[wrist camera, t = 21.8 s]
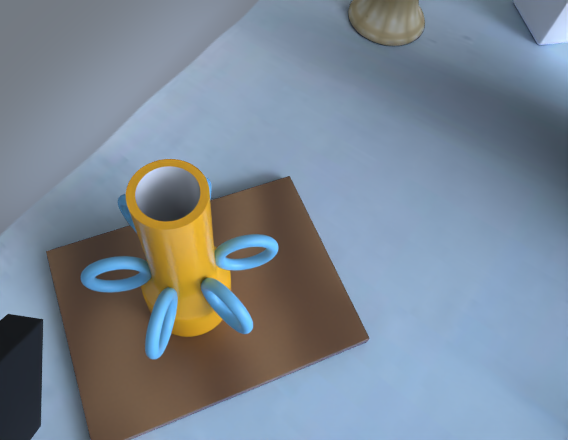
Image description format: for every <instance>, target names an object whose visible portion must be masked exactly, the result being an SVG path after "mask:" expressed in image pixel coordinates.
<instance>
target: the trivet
mask: <svg viewBox="0 0 568 440" xmlns="http://www.w3.org/2000/svg"><path fill="white" fill-rule="evenodd" d="M210 203H211V216H212V228H213V240H214V246H215V247H216V248H217V247H218V246H220V245H221V244H222V243H224V242H226V241H228V240H230V239H233V238H236V237H239V236H244V235H251V234H261V235H267V236H270V237H272V238H273V239H275V240H276V242H277V243H278V252H277V254H276V255H275V257H274V258H273V259H271V260H270V261H268V262H267V263H265V264H263V265H260V266H258V267H255V268H251V269H246V270H236V271H233V270H230V273H231V292H232V293H233V294H234V295H235V296H236V297H237V298H238V299H239V300H240V301H241V303H242V304H243V305H244V307H245V308H246V309H247V311H248V312H249V314H250V316H251V318H252V321H253V329H252V331H251V332H250V333H248V334H242V333H239V332H237V331H236V330H234V329H233V328H232V327H230V326H229V325H228V324H227V323H226V322H225V321H224V320H222V321H221V322H220V324H219V325H217V326H216V327H215V328H214V329H212V330H211V331H209V332H207V333H204V334H202V335H198V336H193V337H182V336H177V335H174V334H171V336H170V339H169V341H168V344H167V346H166V348H165V350H164V352H163V354H162V355H161V356H160V357H159V358H158V359H150V358H148V356H147V355H146V352H145V339H146V333H147V328H148V323H149V320H150V316H151V313H150V310H149V308H148V306H147V304H146V301H145V299H144V297H143V294H142V290H141V286H140V287H137V288H134V289H131V290H127V291H121V292H98V291H93V290H91V289H88V288H87V287H85V286H84V285H83V284H82V282H81V273H82V271H83V270H84V269H85V268H86V267H87V266H88V265H90V264H92V263H94V262H96V261H99V260H102V259H105V258H110V257H118V256H130V257H137V258H141V259H144V260H146V257H145V254H144V251H143V248H142V245H141V243H140V240H139V237H138V234H137V233H136V232H135V231H134V229H133V228H132V227H131V226H126V227H123V228H120V229H117V230H113V231H110V232H107V233H104V234H101V235H97V236H94V237H91V238H88V239H84V240H81V241H78V242H75V243H71V244H68V245H65V246H62V247H58V248H55V249H52V250H49V251H46V253H47V257H48V262H49V266H50V270H51V274H52V279H53V283H54V287H55V291H56V295H57V300H58V304H59V308H60V312H61V317H62V321H63V325H64V329H65V334H66V338H67V342H68V346H69V350H70V355H71V359H72V363H73V367H74V372H75V376H76V380H77V384H78V388H79V393H80V397H81V401H82V405H83V410H84V414H85V418H86V422H87V426H88V431H89V435H90V439H91V440H131V439H133V438H136V437H138V436H141V435H143V434H145V433H148V432H150V431H153V430H155V429H158V428H160V427H162V426H165V425H167V424H170V423H172V422H174V421H177V420H179V419H182V418H184V417H187V416H189V415H191V414H194V413H196V412H199V411H201V410H204V409H206V408H208V407H211V406H213V405H216V404H218V403H220V402H223V401H225V400H228V399H230V398H233V397H235V396H237V395H240V394H242V393H245V392H247V391H250V390H252V389H254V388H257V387H259V386H262V385H264V384H267V383H269V382H271V381H274V380H276V379H279V378H281V377H283V376H286V375H288V374H291V373H293V372H296V371H298V370H300V369H303V368H305V367H308V366H310V365H313V364H315V363H317V362H320V361H322V360H325V359H327V358H329V357H332V356H334V355H337V354H339V353H342V352H344V351H346V350H349V349H351V348H354V347H356V346H359V345H361V344H363V343H366V342H367V341H368V340H369V336H368V334H367V332H366V330H365V328H364V326H363V324H362V322H361V320H360V318H359V316H358V314H357V312H356V310H355V308H354V306H353V304H352V302H351V300H350V298H349V296H348V294H347V292H346V290H345V288H344V286H343V284H342V282H341V280H340V277H339V275H338V273H337V271H336V269H335V267H334V265H333V263H332V261H331V259H330V257H329V255H328V253H327V251H326V249H325V247H324V245H323V243H322V241H321V239H320V237H319V235H318V233H317V231H316V229H315V227H314V225H313V223H312V221H311V219H310V216H309V214H308V212H307V210H306V208H305V206H304V204H303V202H302V200H301V198H300V196H299V194H298V192H297V190H296V188H295V186H294V184H293V182H292V180H291V178H290V176H288V177H285V178H282V179H278V180H275V181H272V182H269V183H265V184H262V185H259V186H256V187H253V188H249V189H246V190H243V191H240V192H236V193H233V194H230V195H227V196H223V197H220V198H217V199H214V200H210ZM265 249H266V248H264V247H248V248H243V249H239V250H236V251H234V252H232V253H230V254H228V255H227V256H226V258H230V259H242V258H248V257H251V256H254V255H257V254H259V253H261V252H263V251H264V250H265ZM146 261H147V260H146ZM138 273H140V272H139V271H136V270H129V269H120V270H112V271H108V272H104V273H101V274H99V275H97V276H96V277H95V278H97V279H101V280H121V279H126V278H130V277H132V276H135V275H137V274H138Z"/></svg>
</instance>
